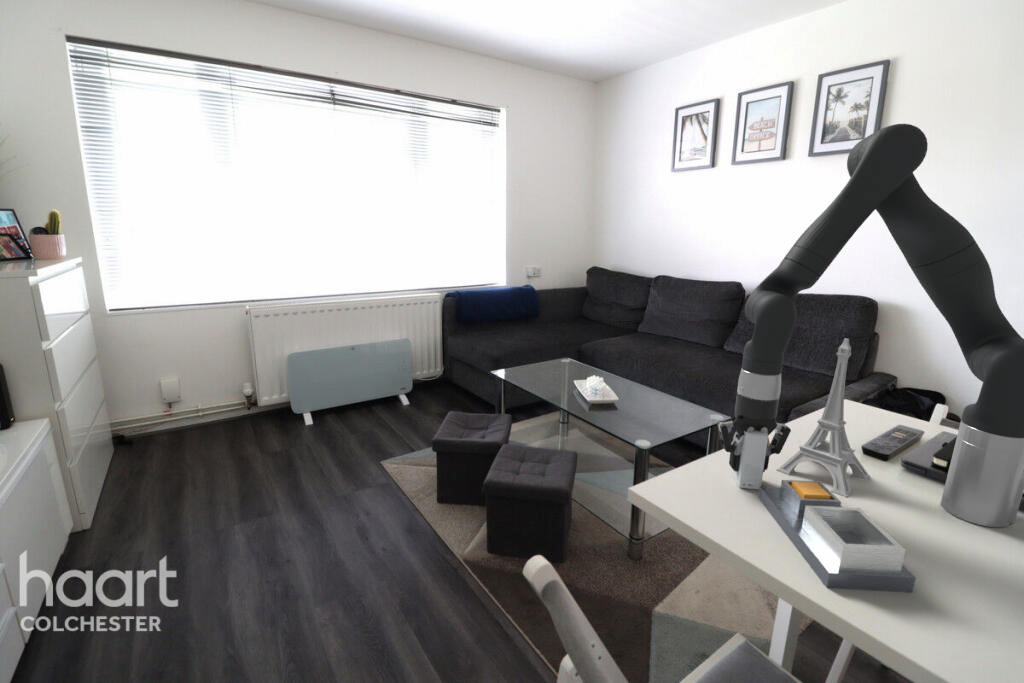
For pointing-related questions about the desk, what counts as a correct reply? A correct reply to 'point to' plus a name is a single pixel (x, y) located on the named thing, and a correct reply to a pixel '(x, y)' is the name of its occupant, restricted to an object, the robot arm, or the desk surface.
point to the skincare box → (752, 460)
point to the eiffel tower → (832, 435)
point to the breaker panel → (838, 541)
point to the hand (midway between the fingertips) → (747, 469)
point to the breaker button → (810, 490)
